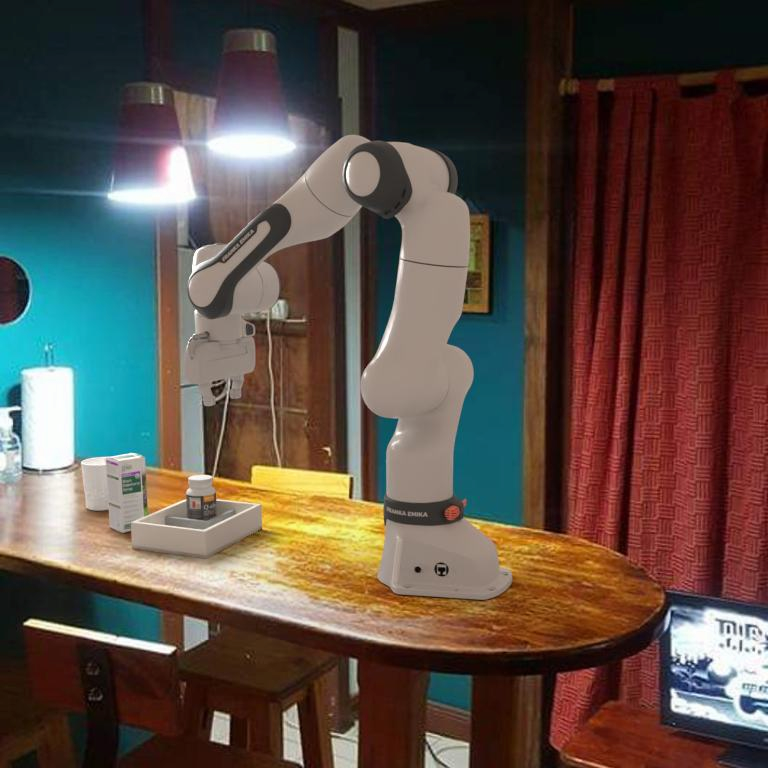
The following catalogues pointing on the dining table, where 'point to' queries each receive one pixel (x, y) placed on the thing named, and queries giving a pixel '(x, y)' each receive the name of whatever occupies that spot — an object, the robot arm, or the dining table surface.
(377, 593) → the dining table surface
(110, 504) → the syrup box
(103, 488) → the white cup
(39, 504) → the dining table surface
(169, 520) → the box
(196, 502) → the pill bottle
